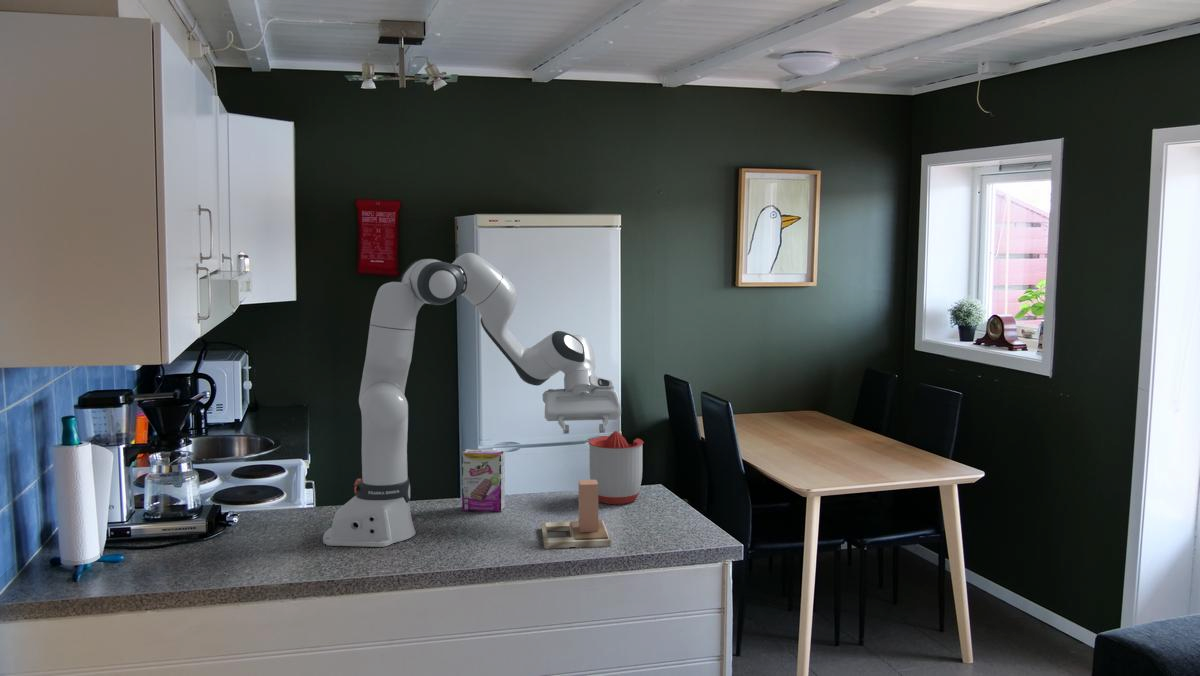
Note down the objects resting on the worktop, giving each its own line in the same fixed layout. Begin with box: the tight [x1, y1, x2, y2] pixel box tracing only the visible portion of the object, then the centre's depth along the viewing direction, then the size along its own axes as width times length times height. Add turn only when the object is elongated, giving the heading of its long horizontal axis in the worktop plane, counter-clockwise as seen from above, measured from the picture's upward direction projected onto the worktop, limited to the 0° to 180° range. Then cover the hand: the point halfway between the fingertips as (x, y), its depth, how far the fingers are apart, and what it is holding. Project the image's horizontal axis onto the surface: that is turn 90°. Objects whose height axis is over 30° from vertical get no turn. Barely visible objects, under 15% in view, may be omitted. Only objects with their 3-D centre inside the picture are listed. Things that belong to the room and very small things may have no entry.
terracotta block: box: [578, 479, 599, 532], centre depth 232 cm, size 4×4×12 cm
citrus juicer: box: [588, 430, 644, 505], centre depth 266 cm, size 16×17×20 cm
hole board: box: [541, 519, 612, 550], centre depth 233 cm, size 16×16×2 cm
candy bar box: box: [461, 448, 506, 513], centre depth 256 cm, size 11×5×16 cm, turn 84°
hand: (584, 432), depth 242 cm, fingers open, 8 cm apart
